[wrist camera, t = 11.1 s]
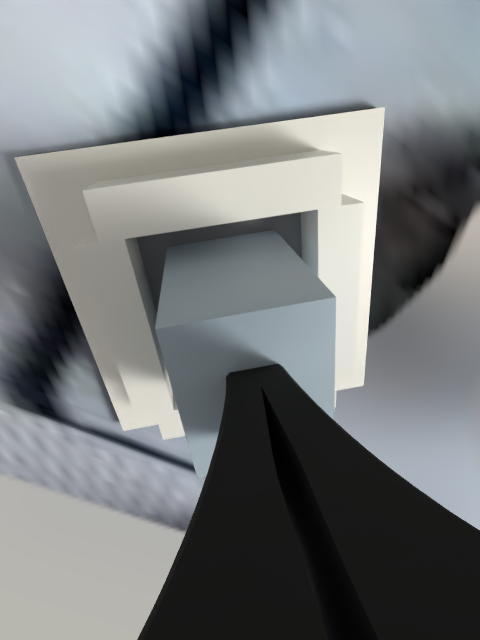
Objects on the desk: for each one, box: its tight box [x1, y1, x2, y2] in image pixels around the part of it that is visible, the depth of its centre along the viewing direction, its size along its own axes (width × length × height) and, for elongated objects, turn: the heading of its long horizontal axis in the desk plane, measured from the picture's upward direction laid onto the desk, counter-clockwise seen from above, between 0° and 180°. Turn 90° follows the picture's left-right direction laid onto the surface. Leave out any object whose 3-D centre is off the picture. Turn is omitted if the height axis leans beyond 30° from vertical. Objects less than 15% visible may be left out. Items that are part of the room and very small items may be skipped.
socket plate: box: [14, 107, 385, 440], centre depth 13 cm, size 12×12×2 cm
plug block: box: [155, 230, 336, 478], centre depth 11 cm, size 5×4×6 cm
